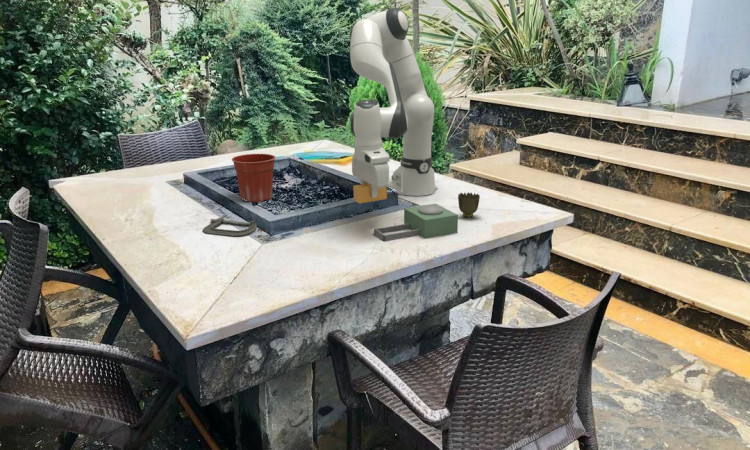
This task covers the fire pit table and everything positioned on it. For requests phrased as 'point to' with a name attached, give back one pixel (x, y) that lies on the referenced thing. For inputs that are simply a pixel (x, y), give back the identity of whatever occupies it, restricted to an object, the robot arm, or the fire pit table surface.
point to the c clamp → (231, 233)
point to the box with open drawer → (422, 223)
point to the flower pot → (255, 176)
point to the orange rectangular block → (368, 193)
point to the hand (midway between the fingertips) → (370, 194)
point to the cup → (468, 204)
